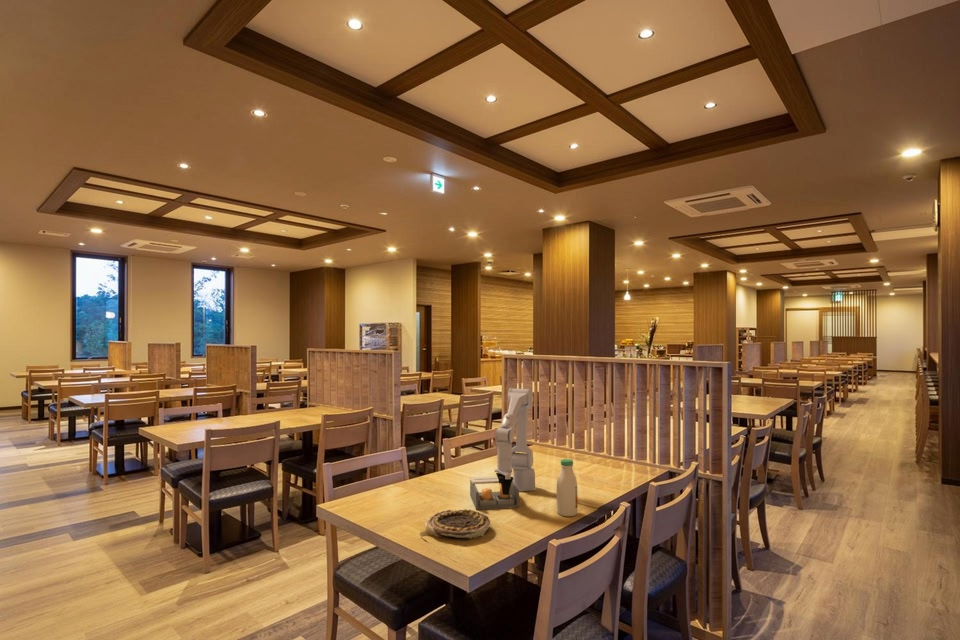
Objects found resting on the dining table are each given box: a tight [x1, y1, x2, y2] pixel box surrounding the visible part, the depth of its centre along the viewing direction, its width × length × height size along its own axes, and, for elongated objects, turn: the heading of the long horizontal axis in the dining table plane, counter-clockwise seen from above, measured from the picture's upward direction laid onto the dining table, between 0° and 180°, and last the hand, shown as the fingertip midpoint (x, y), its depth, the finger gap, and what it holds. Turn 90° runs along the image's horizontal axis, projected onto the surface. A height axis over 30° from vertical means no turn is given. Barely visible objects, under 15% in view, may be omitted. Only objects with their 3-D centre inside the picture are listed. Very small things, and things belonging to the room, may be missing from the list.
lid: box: [469, 475, 513, 485], centre depth 209 cm, size 17×7×1 cm, turn 98°
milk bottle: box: [556, 458, 578, 517], centre depth 189 cm, size 8×8×20 cm
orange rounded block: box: [499, 483, 510, 498], centre depth 199 cm, size 4×4×5 cm
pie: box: [419, 509, 491, 542], centre depth 172 cm, size 28×27×5 cm
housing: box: [469, 479, 520, 511], centre depth 203 cm, size 17×18×7 cm
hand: (504, 492), depth 199 cm, fingers closed on orange rounded block, 4 cm apart
